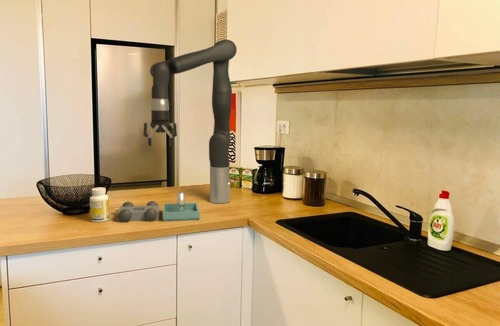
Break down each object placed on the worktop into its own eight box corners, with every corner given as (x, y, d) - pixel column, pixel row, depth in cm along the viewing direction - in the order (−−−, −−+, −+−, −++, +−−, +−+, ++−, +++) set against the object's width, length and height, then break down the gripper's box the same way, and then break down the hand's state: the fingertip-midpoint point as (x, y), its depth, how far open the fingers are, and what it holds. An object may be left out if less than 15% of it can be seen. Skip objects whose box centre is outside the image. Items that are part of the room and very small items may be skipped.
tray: (197, 210, 182) (197, 202, 181) (199, 219, 167) (199, 211, 167) (163, 211, 179) (163, 203, 178) (162, 221, 165) (162, 212, 164)
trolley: (159, 211, 178) (159, 200, 177) (158, 221, 165) (158, 208, 164) (115, 213, 175) (115, 201, 174) (111, 222, 161) (110, 210, 161)
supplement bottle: (103, 216, 170) (102, 186, 168) (113, 219, 166) (111, 188, 164) (87, 220, 165) (85, 188, 163) (96, 223, 160) (95, 191, 158)
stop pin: (184, 212, 175) (184, 191, 173) (184, 214, 172) (184, 193, 170) (177, 212, 174) (176, 192, 173) (177, 214, 171) (177, 193, 170)
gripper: (176, 109, 185) (176, 145, 187) (143, 108, 182) (144, 145, 184) (176, 109, 177) (177, 147, 180) (142, 109, 174) (143, 147, 177)
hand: (160, 146), depth 182 cm, fingers open, 8 cm apart
